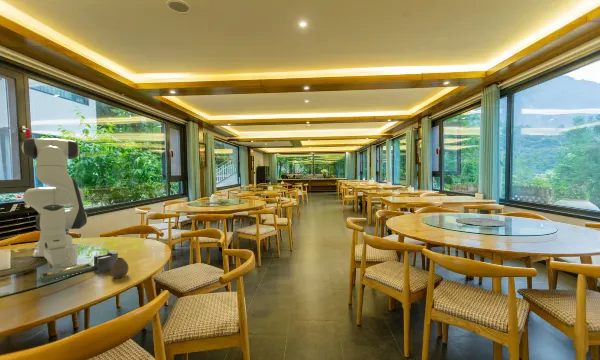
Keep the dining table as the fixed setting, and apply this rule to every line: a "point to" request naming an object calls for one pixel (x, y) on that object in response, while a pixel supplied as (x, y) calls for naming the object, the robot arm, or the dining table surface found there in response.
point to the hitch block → (105, 261)
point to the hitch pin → (68, 269)
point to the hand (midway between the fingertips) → (53, 270)
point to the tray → (65, 273)
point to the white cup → (70, 255)
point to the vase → (119, 268)
